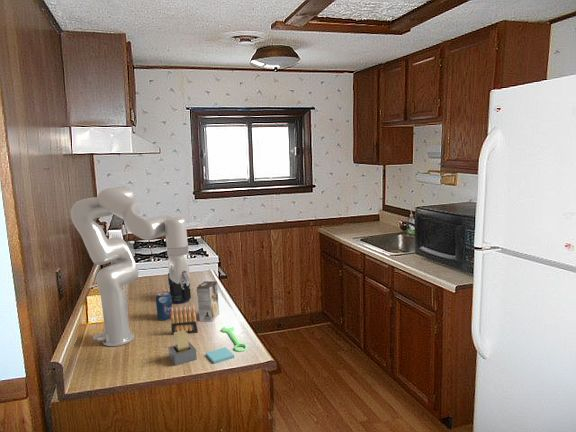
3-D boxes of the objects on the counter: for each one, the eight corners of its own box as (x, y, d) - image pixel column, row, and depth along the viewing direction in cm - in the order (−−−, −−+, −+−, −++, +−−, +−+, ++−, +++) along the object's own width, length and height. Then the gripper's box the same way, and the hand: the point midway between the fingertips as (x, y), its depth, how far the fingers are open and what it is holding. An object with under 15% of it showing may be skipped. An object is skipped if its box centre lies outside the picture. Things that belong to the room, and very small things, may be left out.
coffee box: (206, 313, 211) (204, 280, 209) (219, 314, 210) (217, 281, 207) (199, 321, 202) (196, 287, 200) (212, 321, 201) (209, 287, 198)
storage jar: (166, 303, 227) (163, 275, 224) (175, 297, 236) (173, 269, 234) (184, 304, 224) (182, 275, 222) (193, 298, 234) (190, 270, 231)
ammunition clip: (171, 335, 188) (169, 308, 187) (172, 333, 190) (169, 306, 188) (197, 332, 190) (195, 305, 188) (197, 331, 192) (195, 304, 190)
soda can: (168, 321, 204) (166, 296, 202) (154, 320, 205) (152, 295, 203) (175, 315, 210) (173, 291, 208) (162, 315, 212) (159, 290, 210)
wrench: (232, 329, 195) (220, 331, 193) (232, 324, 194) (220, 326, 192) (249, 351, 172) (236, 354, 170) (249, 346, 171) (235, 349, 169)
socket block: (175, 365, 162) (174, 355, 161) (169, 357, 169) (168, 347, 168) (196, 359, 166) (195, 349, 165) (189, 351, 173) (188, 341, 172)
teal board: (214, 363, 162) (213, 361, 162) (206, 355, 169) (205, 352, 169) (234, 357, 166) (234, 355, 166) (225, 349, 173) (225, 347, 173)
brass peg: (179, 361, 165) (177, 336, 163) (175, 357, 168) (173, 332, 166) (189, 358, 167) (187, 333, 165) (186, 354, 170) (184, 329, 168)
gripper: (160, 248, 169) (164, 292, 172) (175, 257, 155) (180, 304, 158) (179, 245, 173) (183, 288, 176) (196, 253, 159) (200, 299, 161)
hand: (182, 295), depth 167 cm, fingers open, 9 cm apart
